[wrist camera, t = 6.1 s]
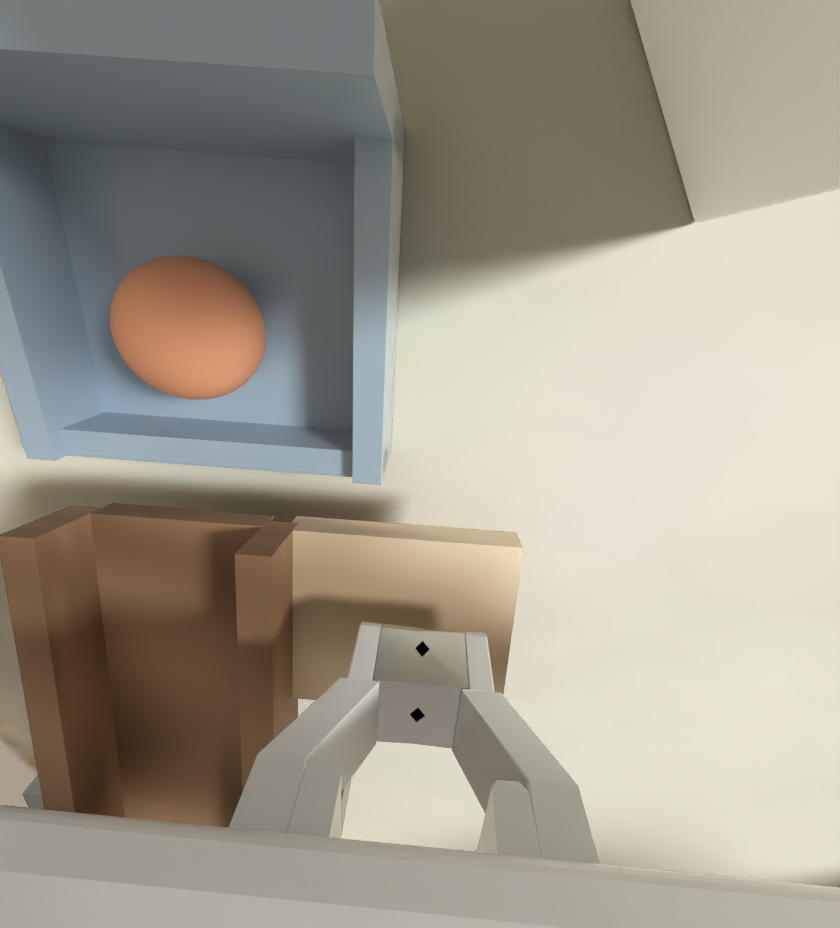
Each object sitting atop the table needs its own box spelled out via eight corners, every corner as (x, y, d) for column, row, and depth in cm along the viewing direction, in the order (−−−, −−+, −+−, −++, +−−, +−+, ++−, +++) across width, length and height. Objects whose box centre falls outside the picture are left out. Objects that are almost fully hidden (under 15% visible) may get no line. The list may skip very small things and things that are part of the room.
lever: (452, 969, 17) (459, 1174, 13) (151, 945, 17) (59, 1139, 13) (509, 520, 13) (550, 603, 8) (103, 489, 13) (-63, 555, 8)
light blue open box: (405, 129, 11) (375, -19, 6) (391, 447, 15) (364, 544, 9) (29, 103, 11) (-354, -70, 6) (103, 426, 15) (-94, 509, 9)
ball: (288, 297, 13) (238, 230, 9) (278, 413, 13) (224, 390, 9) (171, 288, 13) (78, 218, 9) (161, 404, 13) (62, 377, 9)
